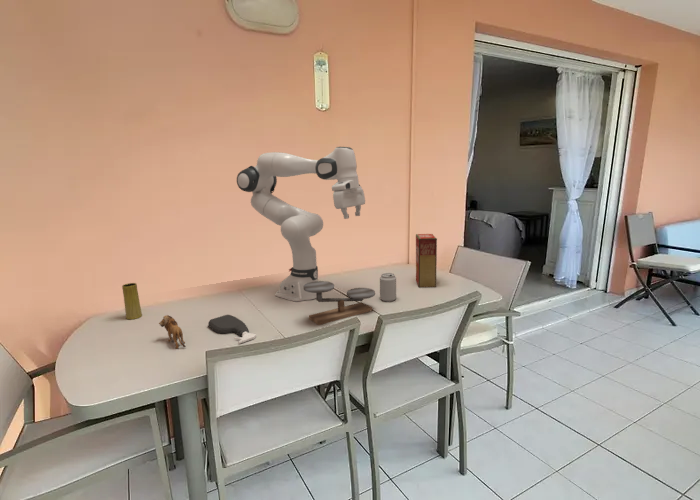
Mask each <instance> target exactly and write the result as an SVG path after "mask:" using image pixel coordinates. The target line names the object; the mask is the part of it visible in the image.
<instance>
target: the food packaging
mask: <svg viewBox="0 0 700 500" xmlns="http://www.w3.org/2000/svg"><path fill="white" fill-rule="evenodd" d="M437 241H438V238H437V237H436V236H435V235H434V234H433V233H416V234H415V282H416V285H417V287H418V288H437V263H438V262H437V255H438V254H437V252H438V251H437V250H438V247H437V246H438V244H437V243H438V242H437Z"/></svg>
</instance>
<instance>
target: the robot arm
mask: <svg viewBox="0 0 700 500" xmlns="http://www.w3.org/2000/svg"><path fill="white" fill-rule="evenodd" d="M357 167H358V166H357V159H356V154H355V151H354V148H352V147H350V146H336V147H335V148H334V149H333V150H332V151H331V152H330V153H328V154H327V155H325V156H324V157H322V158H320V159H310V158H305V157H302V156H298V155H295V154H291V153H287V152H279V151H278V152H275V151H272V152H264V153H262V154H260V155H259V156H258V157H257V160H256V165H250V166H248V167H246V168H245V169H242V170H241V171H240V172H239V173H237V176H236V184H237V187H238V188H239V189H240V190H241V191H243V192H246V193H252V196H251V198H250V204H251V207H252V208H253V209H254V210H255V211H256V212H258V214H261V216H263V217H265V218H266V219H268V220H269V221H271V222H272V223H274V224H275V225H278V226H280V232H281V235H282V237H283V238H284V239H285V240H286V241H287V242H288V244H289V247H290V251H291V254H292V255H291V256H292V267H290V268H289V269H288V272H290V275H288V276H286V278H285V279H283V280H282V281H281V282H280V285H279V290H277V291H276V292H275V293H274V296H275V297H277V298H282V299H285V300H289V301H292V302H301V301H309V300H315V299H317V296H316V293H311V292H307V291H305V290H304V287H303V286H304V285H305V284H307V283H310V282H315V281H319V279H318V278H319V269H318V265H317V264H318V263H317V262H318V261H317V251H316V249H315V247H313V246H312V244H311V240H310V237H313V236H316V235H317V234H319V233H320V232H322V230H323V228H324V221H323V220H324V219H323V218H322V217H321V216H320V215H319V214H318V213H313V212H310V211H307V210H305V209H302V208H299V207H297V206H294V205H291V204H289V203H287V202H286V201H284V200H282V199H280V198H279V197H277V196H276V195H274V194H273V193H274V192H275V188H276V187H277V182H278V181H277V180H278V178H277V177H279V178H287V177H295V176H301V175H307V174H314V175H315V174H316V175H317V177H318V178H319V179H321V180H325V181H329V180H331V181H332V180H333V181H334V180H337V182H336V183H334V184H333V185H331V191H332V192H333V193H332V194H333V195H332V200H333V205H334V208H335V209H336V210H340V211H341V213H342V215H343V219H344V220H348V219H349V218H350V214H349V213H348V208H352V207H354V208H355V212H354V216H355V217H360V216H361V209H362V206H363V205H366V197H365V193H364V189H363V187H362V186H361V185H360V181H359V175H358V172H357Z"/></svg>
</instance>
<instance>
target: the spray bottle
mask: <svg viewBox="0 0 700 500" xmlns="http://www.w3.org/2000/svg"><path fill="white" fill-rule="evenodd" d="M208 327H209V328H210V329H211V330H212V331H214V332H215V333H216V334H219V335H226V334H227V335H228V334H236V335H238V336H239V337H236V336H235V337H233V339H235V340H237V343H238V345H240V344H243V343H246V342H248V341H251V340H254V339H256V338H257V333H251V332H249V329H248V326H247V325H246V323H244V322H243V320H241V319H240V318H238V317H236V316H233V315H231V314H224V315H221V316H218V317H215V318H212V319H209V321H208Z"/></svg>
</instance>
